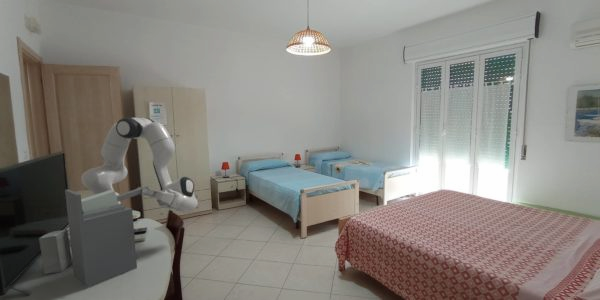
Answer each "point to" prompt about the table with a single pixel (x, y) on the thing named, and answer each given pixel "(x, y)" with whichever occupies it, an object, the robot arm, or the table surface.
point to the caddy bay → (100, 241)
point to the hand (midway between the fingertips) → (140, 189)
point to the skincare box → (55, 251)
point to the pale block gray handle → (106, 200)
